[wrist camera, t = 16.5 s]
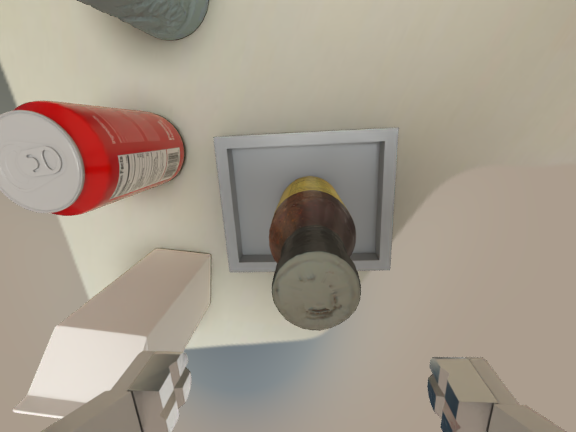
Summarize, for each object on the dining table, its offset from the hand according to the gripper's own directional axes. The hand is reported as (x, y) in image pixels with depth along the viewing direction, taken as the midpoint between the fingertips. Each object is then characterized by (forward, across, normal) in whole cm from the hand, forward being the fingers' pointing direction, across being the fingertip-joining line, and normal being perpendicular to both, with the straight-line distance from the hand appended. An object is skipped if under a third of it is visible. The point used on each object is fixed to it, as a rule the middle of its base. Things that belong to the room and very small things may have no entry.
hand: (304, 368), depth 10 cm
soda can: (+24, +17, -6) cm, 31 cm away
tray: (+24, 0, 0) cm, 24 cm away
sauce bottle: (+24, 0, 0) cm, 24 cm away
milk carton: (+24, +16, +10) cm, 31 cm away
